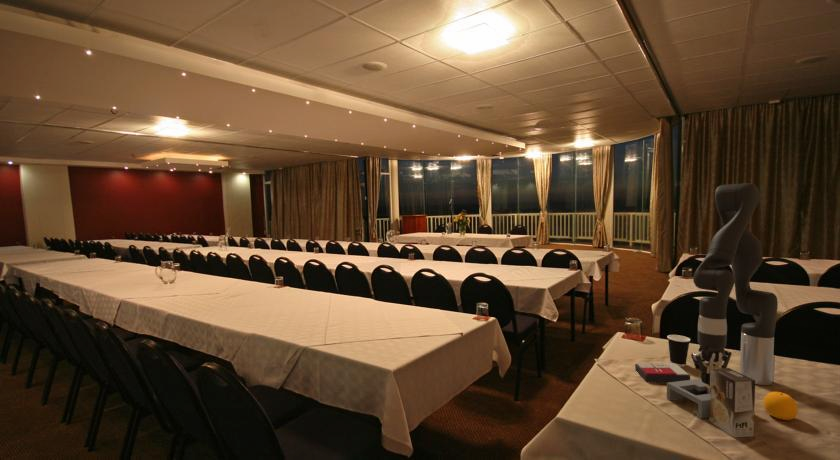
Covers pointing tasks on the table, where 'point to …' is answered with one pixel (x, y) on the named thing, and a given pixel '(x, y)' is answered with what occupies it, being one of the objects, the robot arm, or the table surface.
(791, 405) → the orange
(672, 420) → the table surface
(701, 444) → the table surface
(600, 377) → the table surface
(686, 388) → the keyhole plate
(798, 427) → the table surface
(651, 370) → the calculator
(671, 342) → the dixie cup
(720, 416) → the coffee box
